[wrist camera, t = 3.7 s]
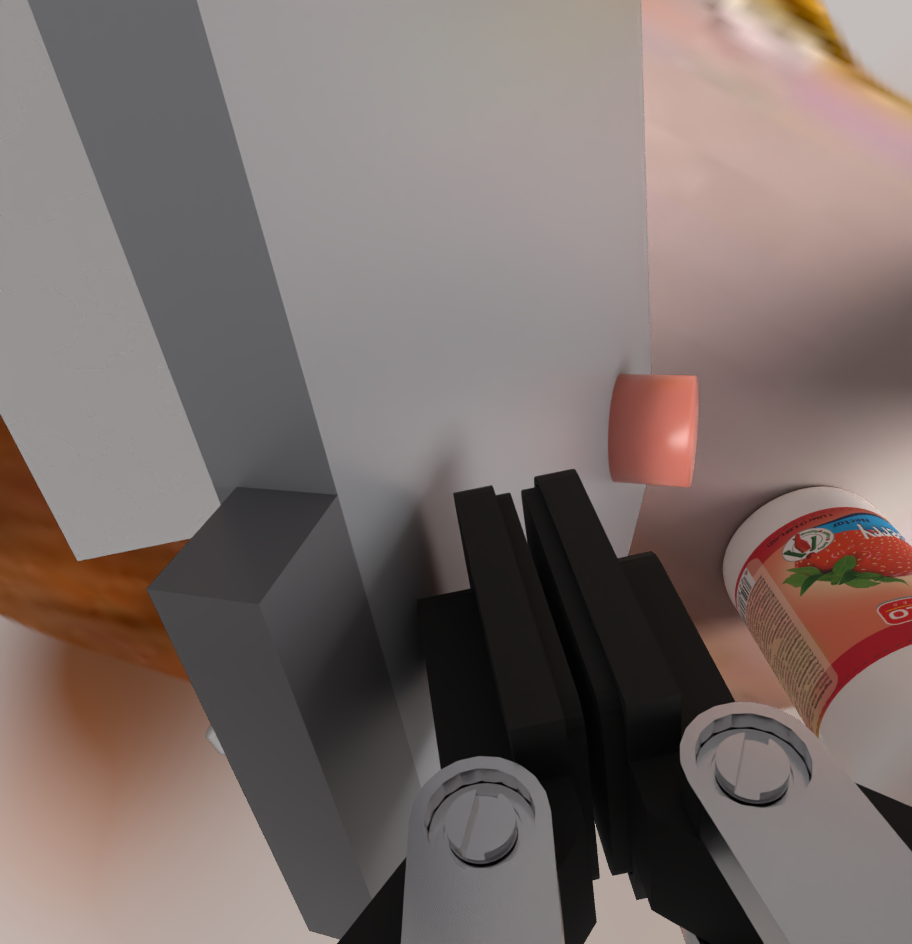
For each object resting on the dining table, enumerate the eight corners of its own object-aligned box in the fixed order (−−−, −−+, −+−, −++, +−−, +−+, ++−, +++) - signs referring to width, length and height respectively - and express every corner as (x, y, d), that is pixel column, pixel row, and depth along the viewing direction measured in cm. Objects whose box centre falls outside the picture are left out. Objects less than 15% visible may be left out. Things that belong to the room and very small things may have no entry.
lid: (570, -239, 20) (723, -275, 19) (612, 454, 31) (710, 460, 30) (-435, -531, 4) (178, -904, 3) (392, 1131, 15) (587, 1202, 14)
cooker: (489, -285, 27) (561, -376, 19) (556, 387, 41) (614, 505, 33) (-128, -174, 27) (-330, -216, 19) (148, 468, 41) (102, 608, 32)
